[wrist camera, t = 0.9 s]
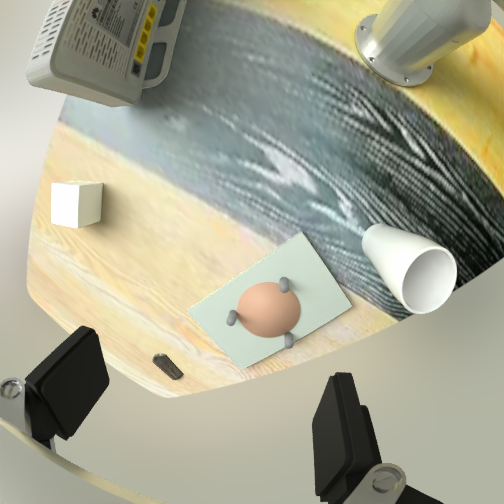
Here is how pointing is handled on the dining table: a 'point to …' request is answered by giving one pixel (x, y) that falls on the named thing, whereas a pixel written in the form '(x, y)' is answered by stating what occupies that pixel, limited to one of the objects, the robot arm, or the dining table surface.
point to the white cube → (76, 203)
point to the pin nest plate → (271, 303)
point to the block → (167, 366)
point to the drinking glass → (411, 267)
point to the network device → (101, 48)
